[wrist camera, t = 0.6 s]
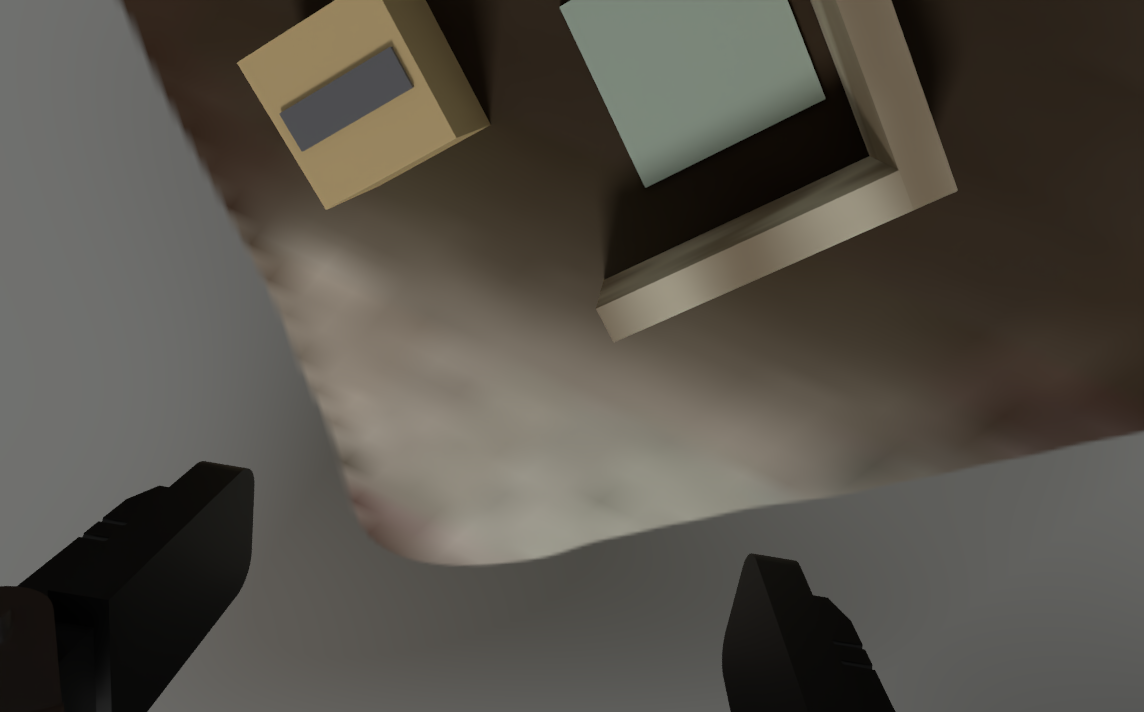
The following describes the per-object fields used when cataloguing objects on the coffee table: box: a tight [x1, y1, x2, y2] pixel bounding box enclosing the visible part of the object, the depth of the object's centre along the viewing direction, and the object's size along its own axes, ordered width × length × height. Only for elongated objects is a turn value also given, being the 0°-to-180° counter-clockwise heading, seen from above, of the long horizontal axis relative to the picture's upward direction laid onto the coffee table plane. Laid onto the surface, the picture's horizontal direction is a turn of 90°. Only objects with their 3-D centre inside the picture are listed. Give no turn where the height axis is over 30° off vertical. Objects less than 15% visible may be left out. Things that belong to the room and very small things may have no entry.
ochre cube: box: [237, 0, 491, 210], centre depth 28 cm, size 6×6×6 cm
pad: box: [560, 0, 826, 188], centre depth 29 cm, size 8×8×1 cm
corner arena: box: [596, 0, 958, 342], centre depth 27 cm, size 13×17×4 cm
